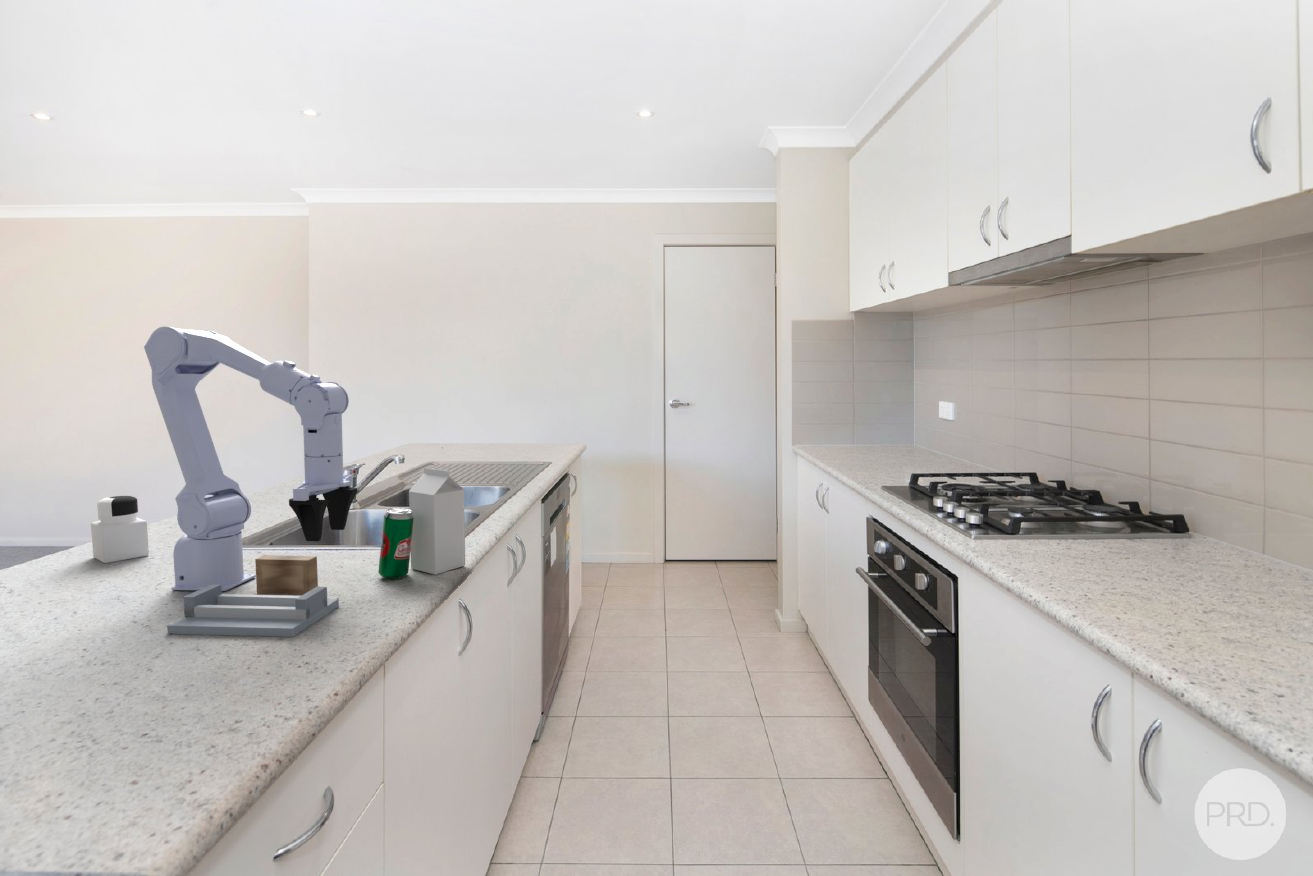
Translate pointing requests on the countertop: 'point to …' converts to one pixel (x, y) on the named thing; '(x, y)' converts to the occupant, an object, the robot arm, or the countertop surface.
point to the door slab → (286, 574)
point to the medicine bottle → (119, 530)
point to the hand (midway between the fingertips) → (326, 535)
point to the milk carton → (437, 523)
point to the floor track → (251, 613)
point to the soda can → (396, 543)
